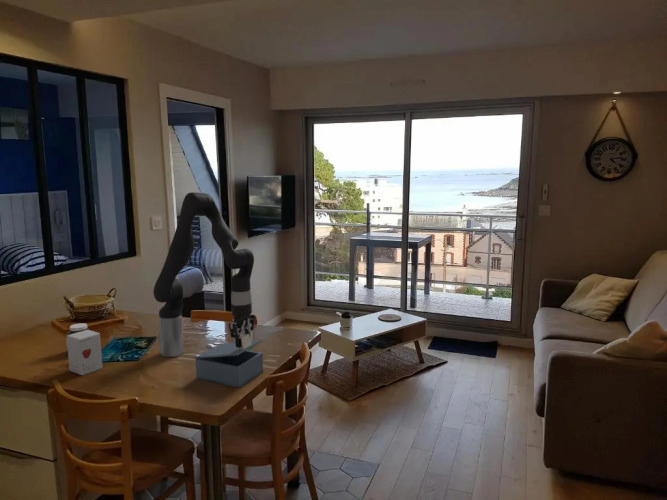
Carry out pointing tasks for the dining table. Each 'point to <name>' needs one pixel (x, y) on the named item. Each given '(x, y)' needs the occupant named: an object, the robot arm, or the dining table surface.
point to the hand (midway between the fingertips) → (243, 344)
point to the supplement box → (84, 352)
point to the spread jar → (76, 329)
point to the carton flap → (229, 348)
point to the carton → (230, 368)
